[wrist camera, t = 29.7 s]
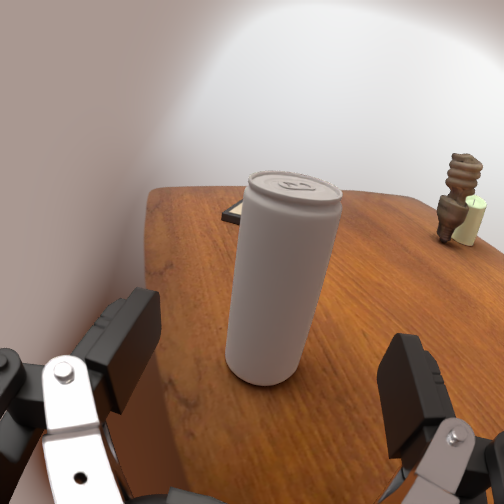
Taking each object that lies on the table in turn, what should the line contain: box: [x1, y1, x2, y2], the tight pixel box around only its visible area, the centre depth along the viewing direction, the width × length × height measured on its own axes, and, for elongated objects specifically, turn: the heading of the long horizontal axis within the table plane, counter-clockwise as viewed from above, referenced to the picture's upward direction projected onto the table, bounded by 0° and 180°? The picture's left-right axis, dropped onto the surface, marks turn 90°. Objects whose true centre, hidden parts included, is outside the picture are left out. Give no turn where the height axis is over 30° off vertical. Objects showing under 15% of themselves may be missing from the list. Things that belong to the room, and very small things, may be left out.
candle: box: [451, 195, 487, 246], centre depth 47 cm, size 5×5×8 cm
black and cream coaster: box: [221, 199, 243, 225], centre depth 45 cm, size 13×13×1 cm
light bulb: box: [437, 153, 483, 243], centre depth 42 cm, size 6×6×15 cm
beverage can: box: [225, 171, 343, 386], centre depth 18 cm, size 5×5×12 cm
